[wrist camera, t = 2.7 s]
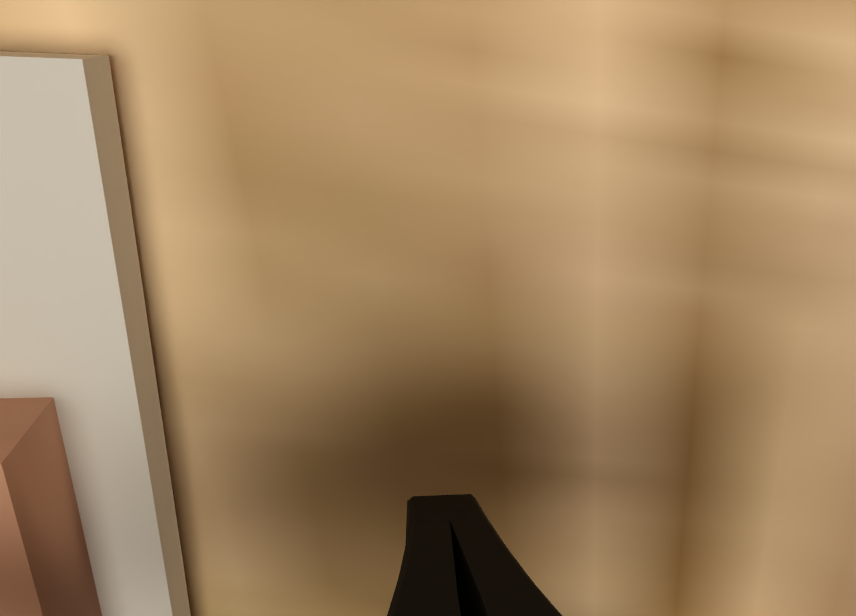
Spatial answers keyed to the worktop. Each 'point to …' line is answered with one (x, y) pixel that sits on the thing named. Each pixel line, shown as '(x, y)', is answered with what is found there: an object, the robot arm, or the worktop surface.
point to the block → (40, 518)
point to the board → (85, 320)
